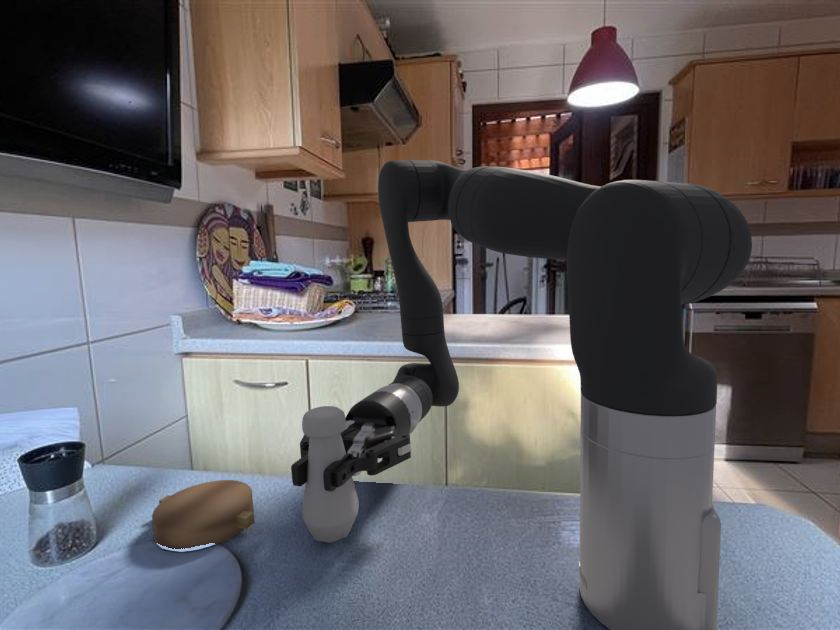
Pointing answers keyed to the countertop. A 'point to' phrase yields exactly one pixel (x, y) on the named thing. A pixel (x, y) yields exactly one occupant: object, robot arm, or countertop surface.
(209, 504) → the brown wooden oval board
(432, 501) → the countertop surface
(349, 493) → the salt shaker
